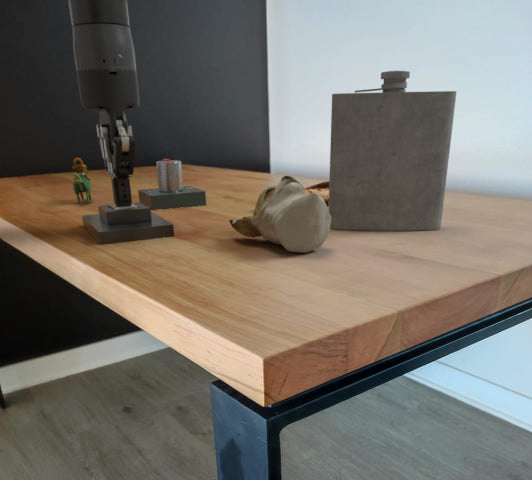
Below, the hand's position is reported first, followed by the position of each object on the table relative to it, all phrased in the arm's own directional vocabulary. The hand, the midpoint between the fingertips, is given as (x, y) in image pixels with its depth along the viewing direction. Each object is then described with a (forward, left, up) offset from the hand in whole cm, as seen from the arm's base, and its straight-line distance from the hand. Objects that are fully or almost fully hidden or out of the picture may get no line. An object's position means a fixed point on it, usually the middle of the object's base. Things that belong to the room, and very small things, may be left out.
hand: (123, 205), depth 77 cm
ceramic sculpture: (+16, -19, -4) cm, 25 cm away
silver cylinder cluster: (+13, +20, -1) cm, 24 cm away
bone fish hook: (+34, +6, -4) cm, 35 cm away
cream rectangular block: (0, 0, -2) cm, 2 cm away
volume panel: (+13, +20, -4) cm, 24 cm away
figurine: (-1, +31, -4) cm, 31 cm away
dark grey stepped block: (0, 0, -4) cm, 4 cm away
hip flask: (+33, -17, -4) cm, 37 cm away
